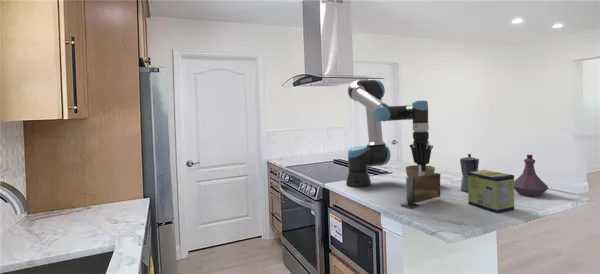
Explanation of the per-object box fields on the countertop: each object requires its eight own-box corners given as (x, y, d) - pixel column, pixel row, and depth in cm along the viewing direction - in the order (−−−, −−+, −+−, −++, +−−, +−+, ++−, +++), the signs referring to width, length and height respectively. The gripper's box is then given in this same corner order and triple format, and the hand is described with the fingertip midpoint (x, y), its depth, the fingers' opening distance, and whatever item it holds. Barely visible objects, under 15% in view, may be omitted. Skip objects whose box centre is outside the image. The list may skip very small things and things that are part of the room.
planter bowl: (403, 182, 203) (403, 165, 202) (431, 182, 201) (430, 164, 200) (408, 189, 187) (408, 170, 186) (438, 188, 185) (438, 169, 184)
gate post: (400, 206, 156) (400, 176, 155) (409, 203, 159) (409, 175, 158) (410, 209, 151) (410, 179, 150) (419, 206, 154) (419, 177, 153)
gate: (410, 201, 157) (410, 177, 156) (436, 195, 166) (435, 173, 165) (415, 203, 155) (414, 178, 154) (440, 196, 163) (440, 173, 162)
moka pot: (473, 187, 184) (473, 152, 183) (486, 194, 169) (486, 156, 167) (455, 187, 185) (455, 152, 184) (467, 194, 170) (467, 156, 168)
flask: (517, 188, 178) (518, 151, 176) (554, 194, 165) (555, 154, 163) (504, 194, 168) (504, 155, 167) (542, 200, 155) (542, 158, 154)
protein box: (484, 201, 158) (484, 169, 157) (514, 210, 143) (515, 175, 142) (467, 204, 154) (467, 171, 153) (496, 213, 140) (497, 177, 139)
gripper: (405, 131, 170) (406, 176, 171) (426, 132, 158) (427, 180, 160) (415, 130, 173) (416, 174, 175) (436, 131, 162) (437, 178, 164)
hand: (421, 177), depth 168 cm, fingers closed
